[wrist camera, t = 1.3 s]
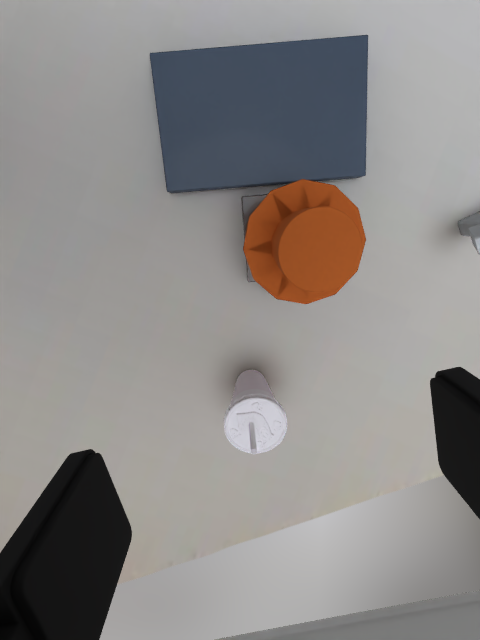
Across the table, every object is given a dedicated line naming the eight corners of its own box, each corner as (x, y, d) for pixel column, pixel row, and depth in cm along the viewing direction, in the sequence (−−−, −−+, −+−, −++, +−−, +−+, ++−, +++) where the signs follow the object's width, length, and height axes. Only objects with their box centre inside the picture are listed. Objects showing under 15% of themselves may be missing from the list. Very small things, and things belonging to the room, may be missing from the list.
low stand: (171, 193, 39) (166, 191, 36) (155, 63, 35) (149, 52, 33) (357, 178, 39) (365, 175, 36) (359, 46, 35) (368, 34, 33)
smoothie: (246, 349, 44) (252, 408, 30) (287, 378, 45) (310, 448, 32) (215, 387, 45) (207, 461, 32) (255, 415, 46) (264, 496, 33)
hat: (247, 307, 31) (250, 328, 25) (238, 184, 28) (239, 177, 22) (362, 298, 31) (392, 316, 25) (365, 174, 28) (398, 164, 22)
